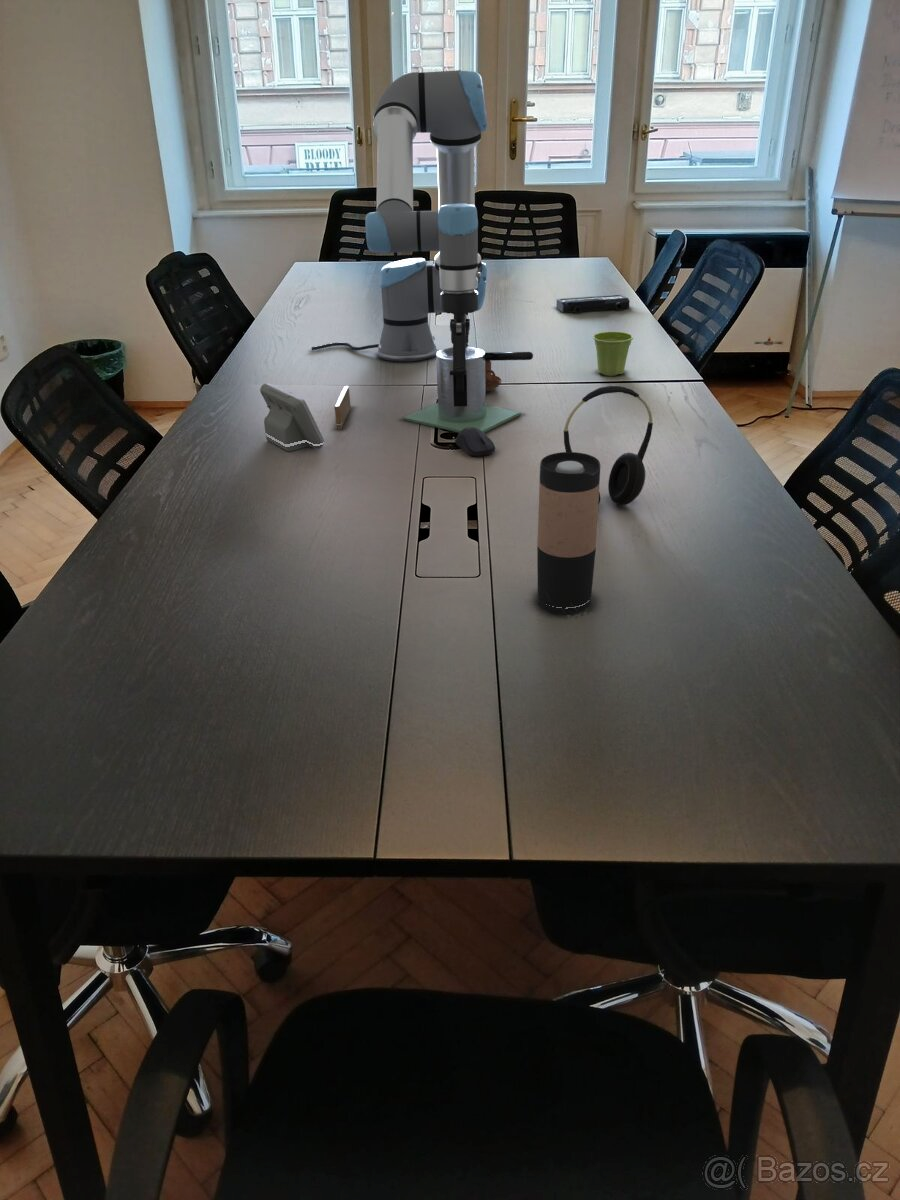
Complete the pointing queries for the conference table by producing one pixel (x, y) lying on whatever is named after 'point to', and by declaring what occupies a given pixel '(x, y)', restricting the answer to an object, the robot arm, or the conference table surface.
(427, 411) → the mat
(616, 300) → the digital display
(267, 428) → the digital clock
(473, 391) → the pot
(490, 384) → the cup and saucer
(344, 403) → the wooden block
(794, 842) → the conference table surface
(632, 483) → the headphones
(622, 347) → the plant pot
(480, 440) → the computer mouse
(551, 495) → the travel mug
